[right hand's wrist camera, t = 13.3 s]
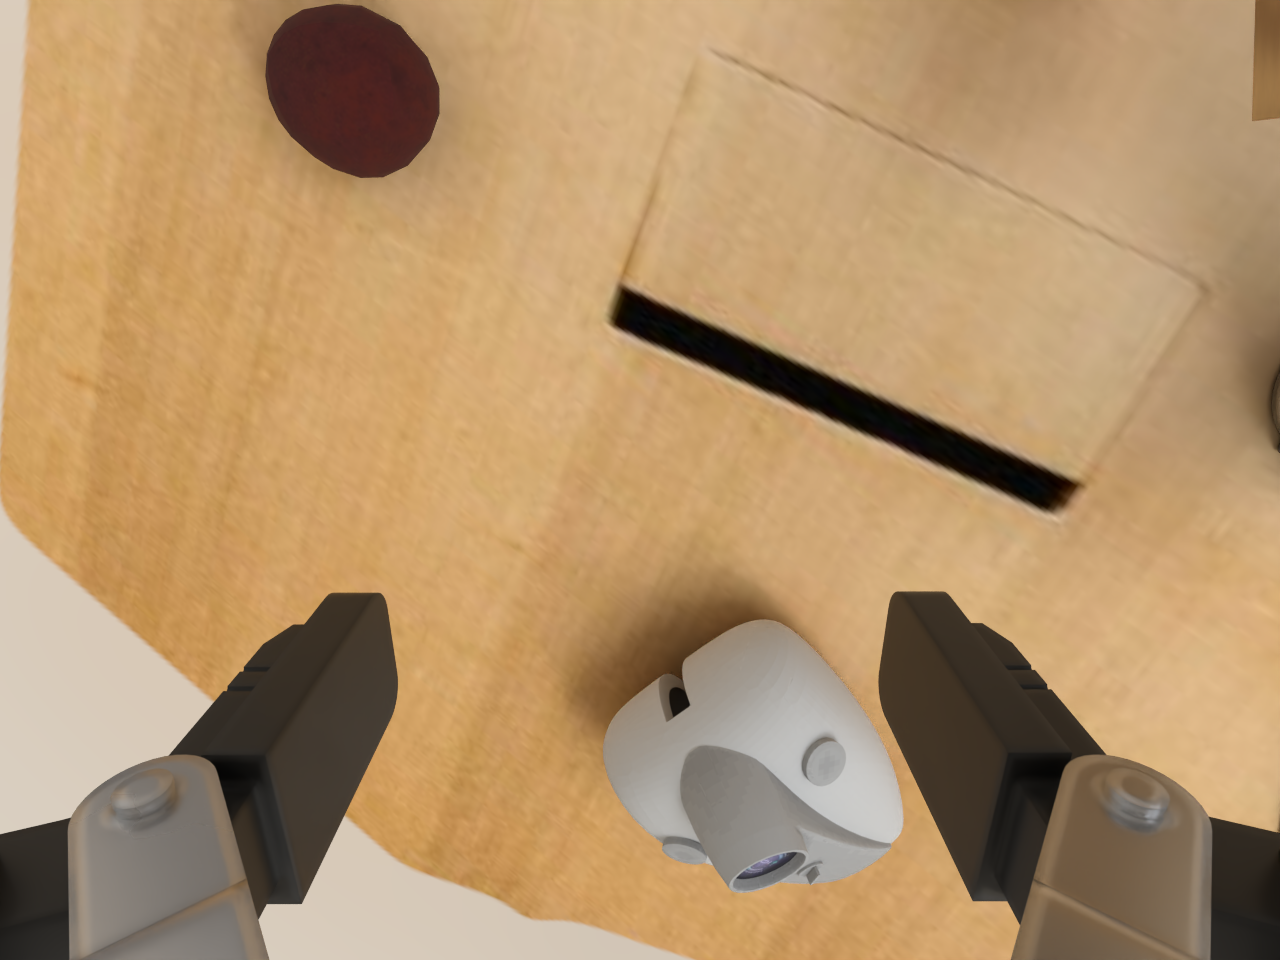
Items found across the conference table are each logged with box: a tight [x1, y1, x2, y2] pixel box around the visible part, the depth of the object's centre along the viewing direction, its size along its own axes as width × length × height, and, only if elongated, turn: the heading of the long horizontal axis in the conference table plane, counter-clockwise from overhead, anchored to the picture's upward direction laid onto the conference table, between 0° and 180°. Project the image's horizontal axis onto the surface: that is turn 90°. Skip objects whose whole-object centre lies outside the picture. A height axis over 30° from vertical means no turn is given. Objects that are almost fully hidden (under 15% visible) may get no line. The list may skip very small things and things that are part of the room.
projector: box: [603, 619, 903, 893], centre depth 46 cm, size 22×23×15 cm
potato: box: [265, 4, 439, 178], centre depth 34 cm, size 7×8×7 cm
